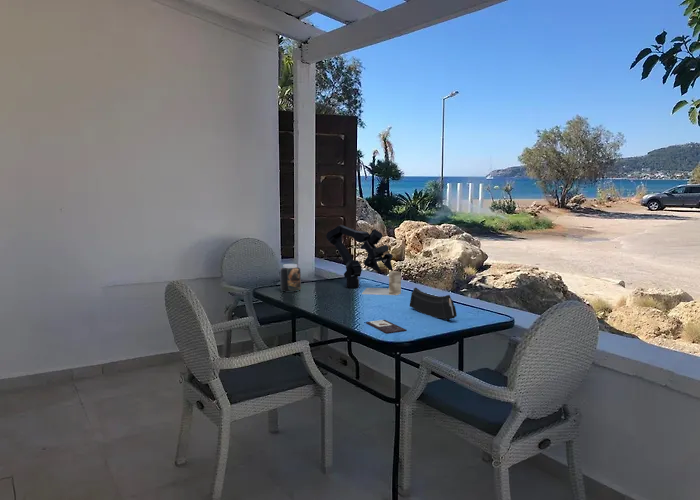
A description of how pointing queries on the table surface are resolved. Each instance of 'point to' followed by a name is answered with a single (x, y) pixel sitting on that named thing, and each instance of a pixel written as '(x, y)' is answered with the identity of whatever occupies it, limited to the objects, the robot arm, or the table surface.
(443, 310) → the magazine
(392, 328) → the chocolate bar
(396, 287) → the birch block
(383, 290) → the rubber mat
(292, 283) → the jar
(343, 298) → the table surface
